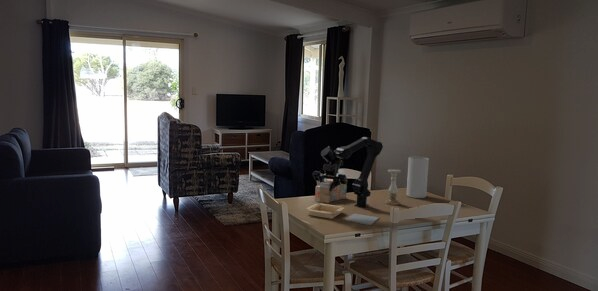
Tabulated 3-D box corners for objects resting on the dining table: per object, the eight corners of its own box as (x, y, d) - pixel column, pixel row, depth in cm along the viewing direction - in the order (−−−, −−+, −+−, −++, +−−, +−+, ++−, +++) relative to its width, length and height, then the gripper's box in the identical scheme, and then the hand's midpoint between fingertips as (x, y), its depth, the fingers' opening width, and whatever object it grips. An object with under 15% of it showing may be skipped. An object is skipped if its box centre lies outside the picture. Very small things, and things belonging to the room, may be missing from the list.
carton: (317, 208, 254) (317, 202, 254) (345, 213, 246) (346, 207, 246) (303, 215, 239) (303, 209, 238) (333, 221, 231) (334, 214, 231)
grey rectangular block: (323, 199, 245) (324, 181, 244) (331, 200, 243) (332, 182, 242) (319, 201, 241) (320, 183, 240) (328, 202, 238) (328, 184, 237)
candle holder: (390, 205, 267) (392, 171, 265) (382, 202, 275) (384, 169, 273) (402, 204, 270) (404, 171, 268) (394, 201, 278) (396, 168, 276)
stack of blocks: (322, 203, 268) (322, 182, 267) (314, 201, 273) (315, 181, 271) (346, 198, 282) (347, 178, 281) (338, 196, 287) (339, 177, 286)
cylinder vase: (415, 193, 303) (417, 156, 300) (430, 197, 293) (432, 158, 290) (402, 195, 295) (404, 157, 292) (417, 199, 285) (420, 160, 282)
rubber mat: (353, 214, 245) (353, 213, 245) (379, 218, 239) (379, 217, 239) (344, 220, 232) (344, 219, 232) (370, 225, 226) (370, 224, 226)
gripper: (314, 156, 247) (304, 179, 238) (346, 159, 238) (337, 183, 230) (319, 168, 255) (310, 191, 246) (351, 172, 246) (342, 196, 238)
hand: (325, 190), depth 240 cm, fingers closed on grey rectangular block, 5 cm apart
